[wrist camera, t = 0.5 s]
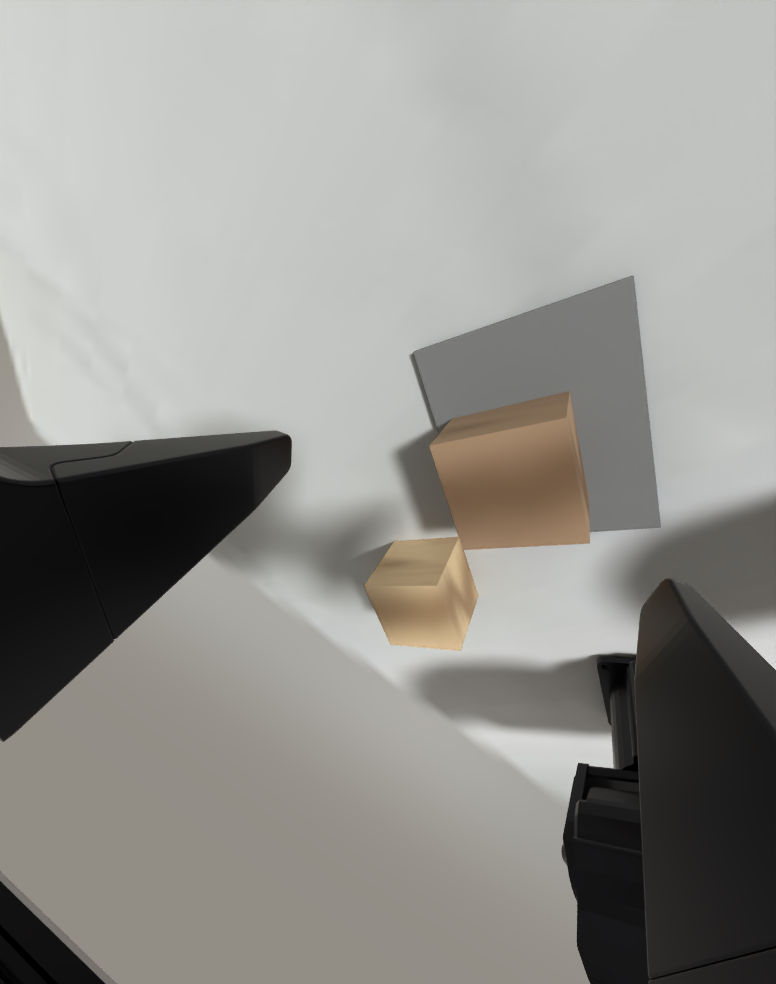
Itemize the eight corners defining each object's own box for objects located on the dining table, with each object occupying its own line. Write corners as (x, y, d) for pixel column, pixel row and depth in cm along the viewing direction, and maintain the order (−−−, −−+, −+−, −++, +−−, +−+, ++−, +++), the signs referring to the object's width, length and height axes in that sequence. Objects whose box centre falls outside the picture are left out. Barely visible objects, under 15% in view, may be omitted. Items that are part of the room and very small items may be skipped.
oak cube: (478, 594, 28) (460, 650, 24) (415, 594, 30) (390, 644, 26) (459, 536, 26) (436, 585, 22) (394, 540, 28) (363, 585, 24)
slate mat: (659, 523, 20) (660, 527, 20) (473, 536, 25) (472, 539, 25) (632, 275, 16) (633, 276, 16) (415, 350, 21) (413, 352, 21)
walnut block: (589, 500, 21) (589, 543, 18) (479, 511, 24) (463, 549, 21) (569, 391, 19) (566, 417, 15) (451, 418, 22) (429, 445, 18)
